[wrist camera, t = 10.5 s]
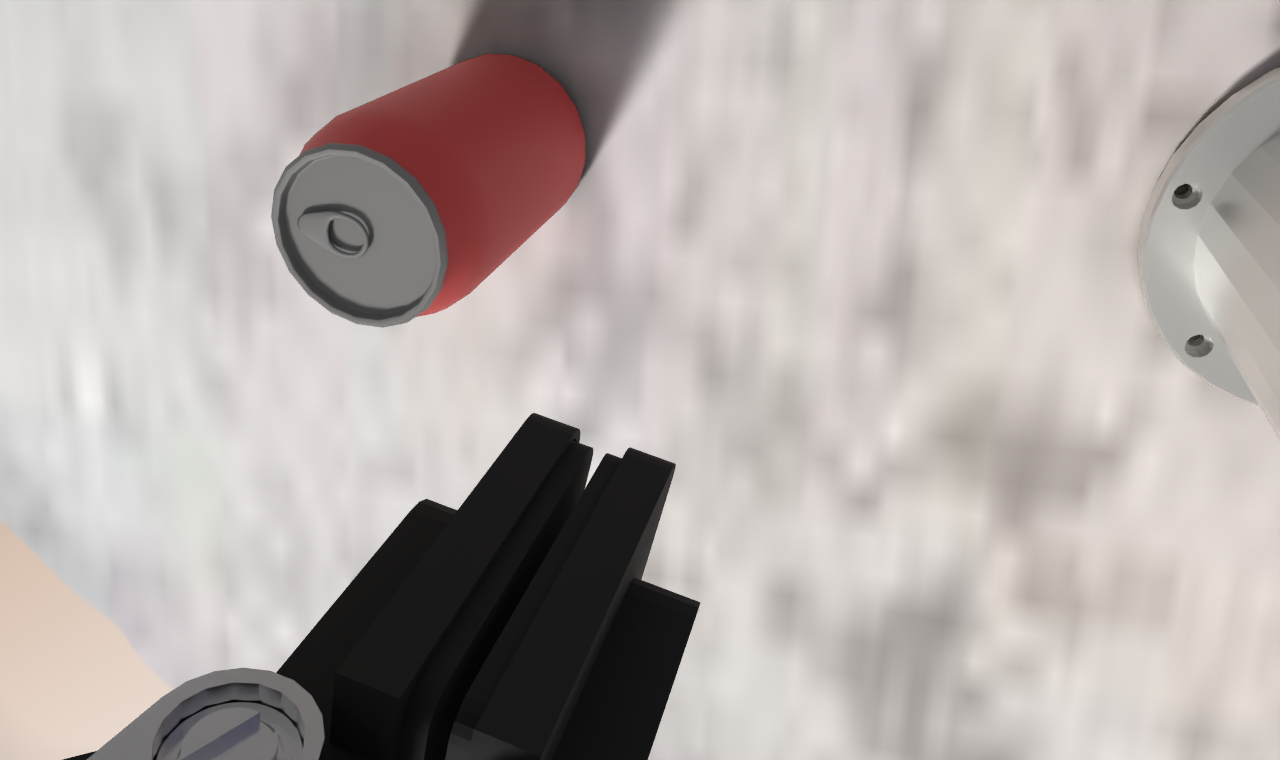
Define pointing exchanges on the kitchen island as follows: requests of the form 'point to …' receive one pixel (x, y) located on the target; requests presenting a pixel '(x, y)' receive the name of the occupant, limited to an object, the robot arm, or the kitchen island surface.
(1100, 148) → the kitchen island surface
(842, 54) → the kitchen island surface
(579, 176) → the beer can
